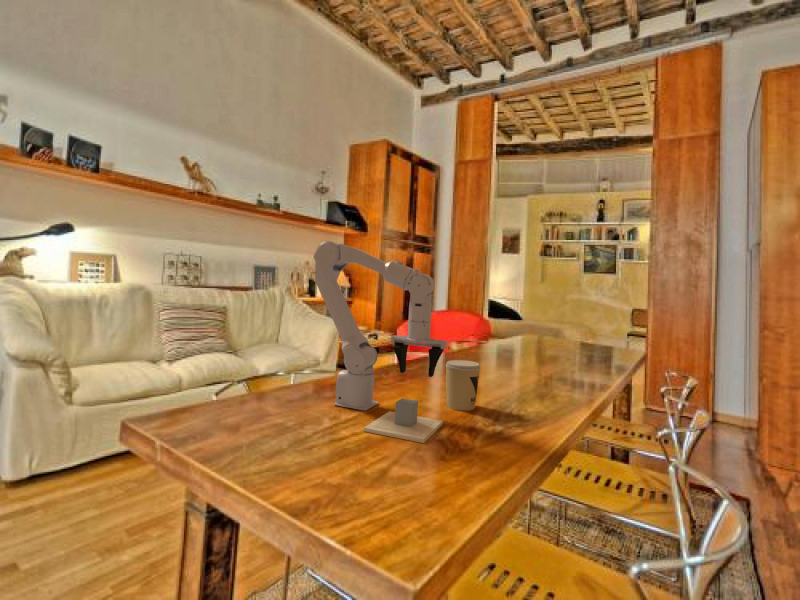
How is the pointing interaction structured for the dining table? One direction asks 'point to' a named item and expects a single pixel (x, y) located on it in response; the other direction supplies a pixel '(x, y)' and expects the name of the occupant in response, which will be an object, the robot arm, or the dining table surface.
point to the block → (406, 412)
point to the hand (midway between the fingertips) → (416, 374)
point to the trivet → (404, 428)
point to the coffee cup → (461, 384)
